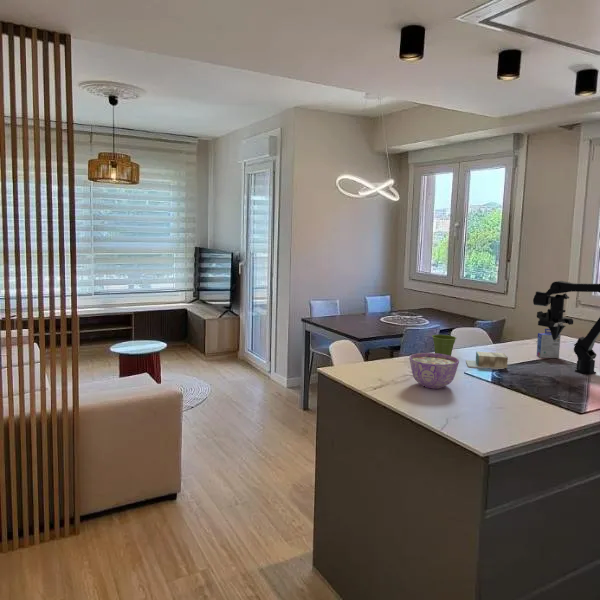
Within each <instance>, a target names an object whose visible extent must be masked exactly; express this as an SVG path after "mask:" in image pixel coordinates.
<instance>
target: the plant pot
mask: <svg viewBox="0 0 600 600" xmlns="http://www.w3.org/2000/svg"><path fill="white" fill-rule="evenodd" d="M431 337H432V341H433V344H434V345H433V347H434V353H438V354H445V355H449V356H452V353H453V348H454V344H455V342H456V340H457V337H456V336H452V335H448V334H433V335H431Z"/></svg>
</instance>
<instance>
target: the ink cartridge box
mask: <svg viewBox="0 0 600 600" xmlns="http://www.w3.org/2000/svg"><path fill="white" fill-rule="evenodd" d="M561 336H562V335H561V334H559V336H558V337H557V339H556V340H553V338H552V335H551V331H550V329H549V328H544V332H538V333H537V342H536V345H537V346H536V357H539V358H541V359H542V358H543V359H545V358H547V359H549V358H550V359H558V358H560V348H561Z"/></svg>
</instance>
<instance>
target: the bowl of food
mask: <svg viewBox="0 0 600 600" xmlns="http://www.w3.org/2000/svg"><path fill="white" fill-rule="evenodd" d="M409 363H410V368H411V374H412V378H413V379H414V380H415V381H416V383H418V384H420V385H422V386H423V387H424V386H425V388H427V389H432V390H433V389H434V390H435V389H438V390H439V389H441V388H443V387H446V386H448V385H451V383H452V382H453V380H454V379H455V376H456V373H457V370H458V367H459V364H460V360H459V358H457V357H455V356H453V355H451V356H449V355H445V354H438V353H435V352H418V353H413V354H410V355H409Z"/></svg>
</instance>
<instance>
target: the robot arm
mask: <svg viewBox="0 0 600 600" xmlns="http://www.w3.org/2000/svg"><path fill="white" fill-rule="evenodd" d="M571 292H575V293H576V292H578V293H582V292H583V293H599V294H600V283H575V282H570V281H565V280H559V281H558V280H557V281H553V282H552V283H551V284H550V286H549V289H547V291H546V292H545V291H540V290H539V291H538V290H537V291H535V294H534V295H533V300H532V303H533V306H539V307H548V306H549V308H548V309H547V311H546V312H544V311H542V310H541V311H537V313H536V318H537V319H538V321H537V326H541V327H546V328H547V329H550V330H549V332H551V335H552V338H553V340H556V339H557V337H558V336H559V335H561V333H562V332H563V329H565V328H566V325H565V324H568V325H574V319H573V318H571V317H565V316H564V313H566V309H565V308H564V307H565V300H568V299H570V296H569V295H568V294H567V293H571ZM599 336H600V317H599V318H598V319H597V320H596V322H595V323H594V324H593V326H592V327H591V329H590V330H589V332H588V333H587V335H586V336H582V337H578V339H577V341H576V343H575V344H573V346H574V347H573V352H574V354H575V355H576V357H577V361H576V369H575V370H574V372H577V373H580V374H585V375H592V374H596V373H597V371H595V366H596V365H595V364H596V360H595V359H596V357H597V353H596V352H595V350H593V348H594V346H595V344H596V343H595V342H596V340H597V338H598V337H599Z"/></svg>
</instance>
